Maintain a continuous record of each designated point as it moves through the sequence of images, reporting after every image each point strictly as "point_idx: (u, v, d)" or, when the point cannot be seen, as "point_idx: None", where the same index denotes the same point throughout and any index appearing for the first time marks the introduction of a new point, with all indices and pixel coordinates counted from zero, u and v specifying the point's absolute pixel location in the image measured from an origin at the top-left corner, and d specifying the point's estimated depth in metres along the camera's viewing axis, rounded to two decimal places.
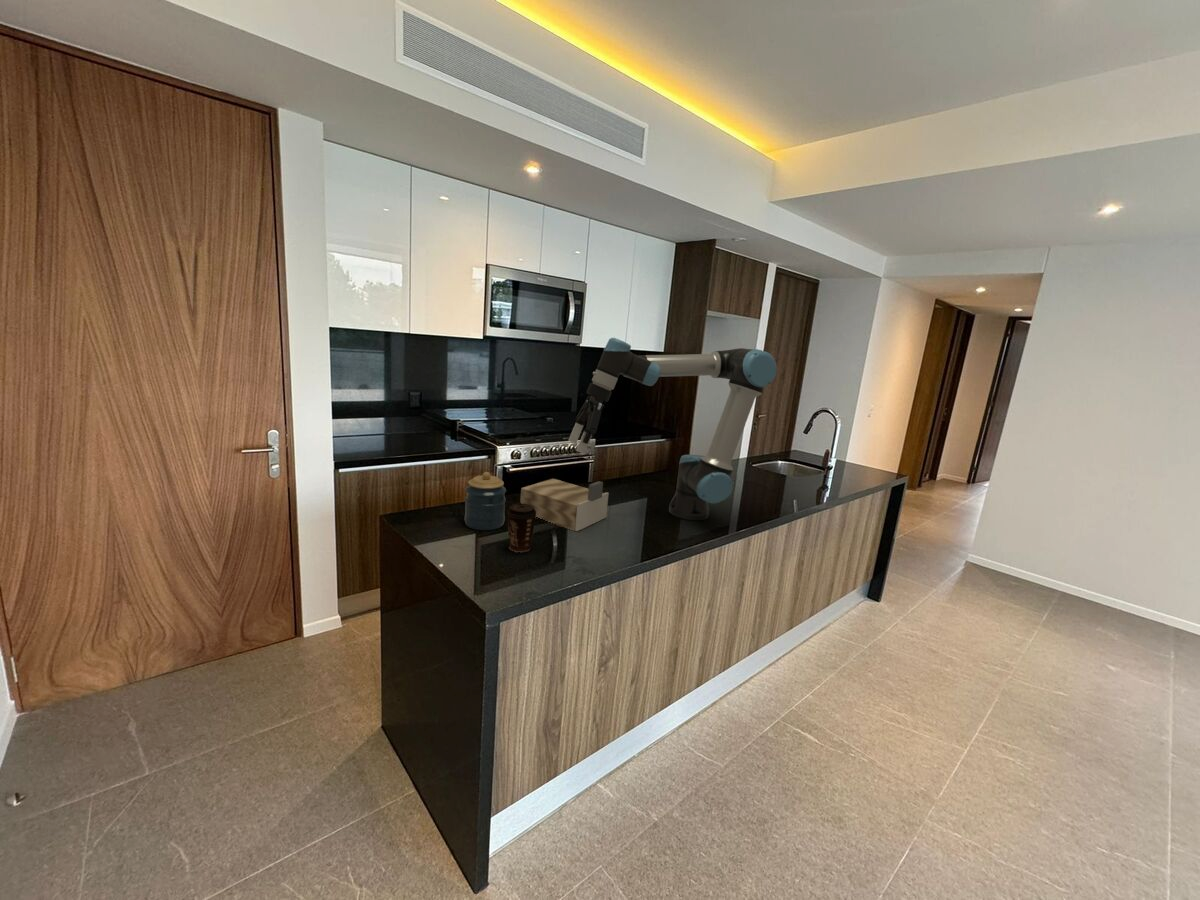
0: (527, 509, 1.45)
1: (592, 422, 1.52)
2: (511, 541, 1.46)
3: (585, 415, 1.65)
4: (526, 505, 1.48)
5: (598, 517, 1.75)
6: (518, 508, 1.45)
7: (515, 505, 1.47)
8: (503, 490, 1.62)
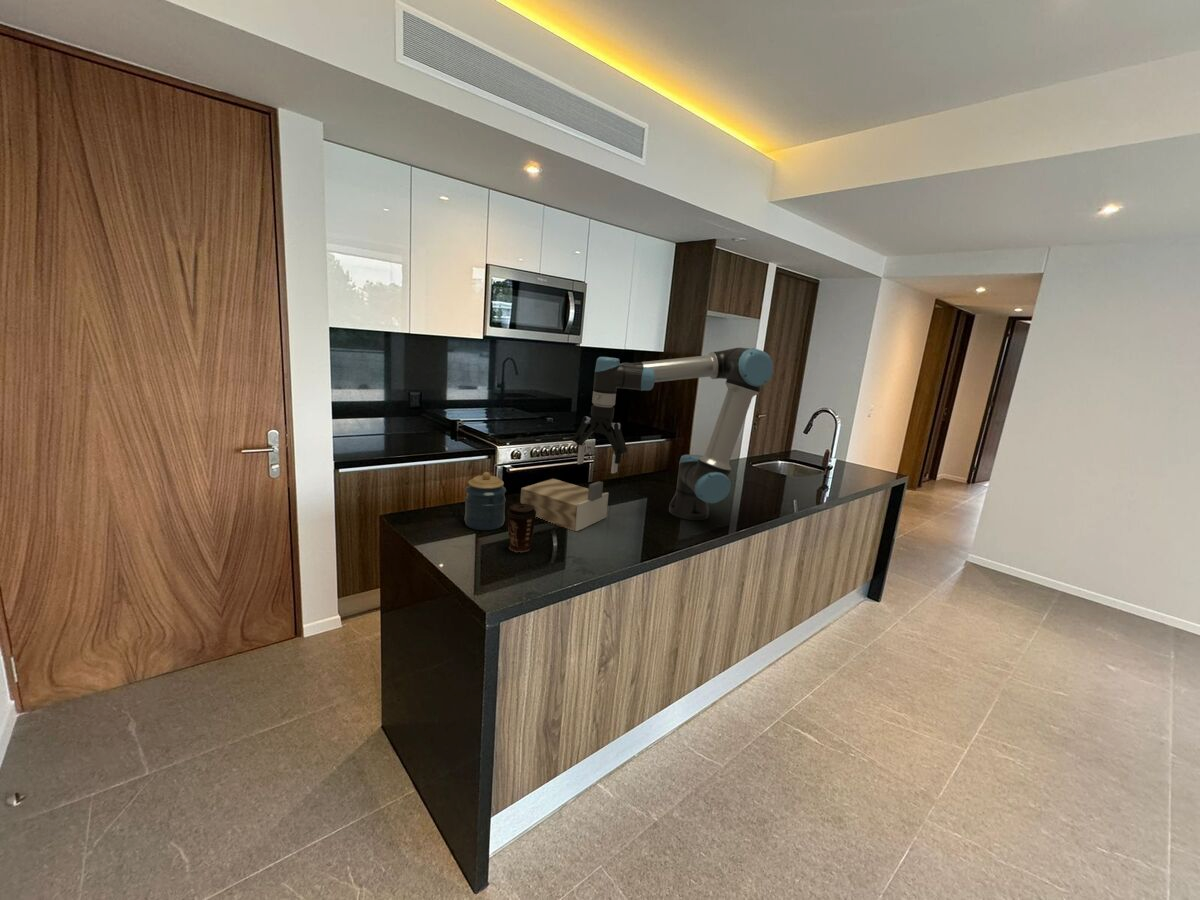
0: (527, 509, 1.45)
1: (622, 443, 1.60)
2: (511, 541, 1.46)
3: (588, 435, 1.68)
4: (526, 505, 1.48)
5: (598, 517, 1.75)
6: (518, 508, 1.45)
7: (515, 505, 1.47)
8: (503, 490, 1.62)
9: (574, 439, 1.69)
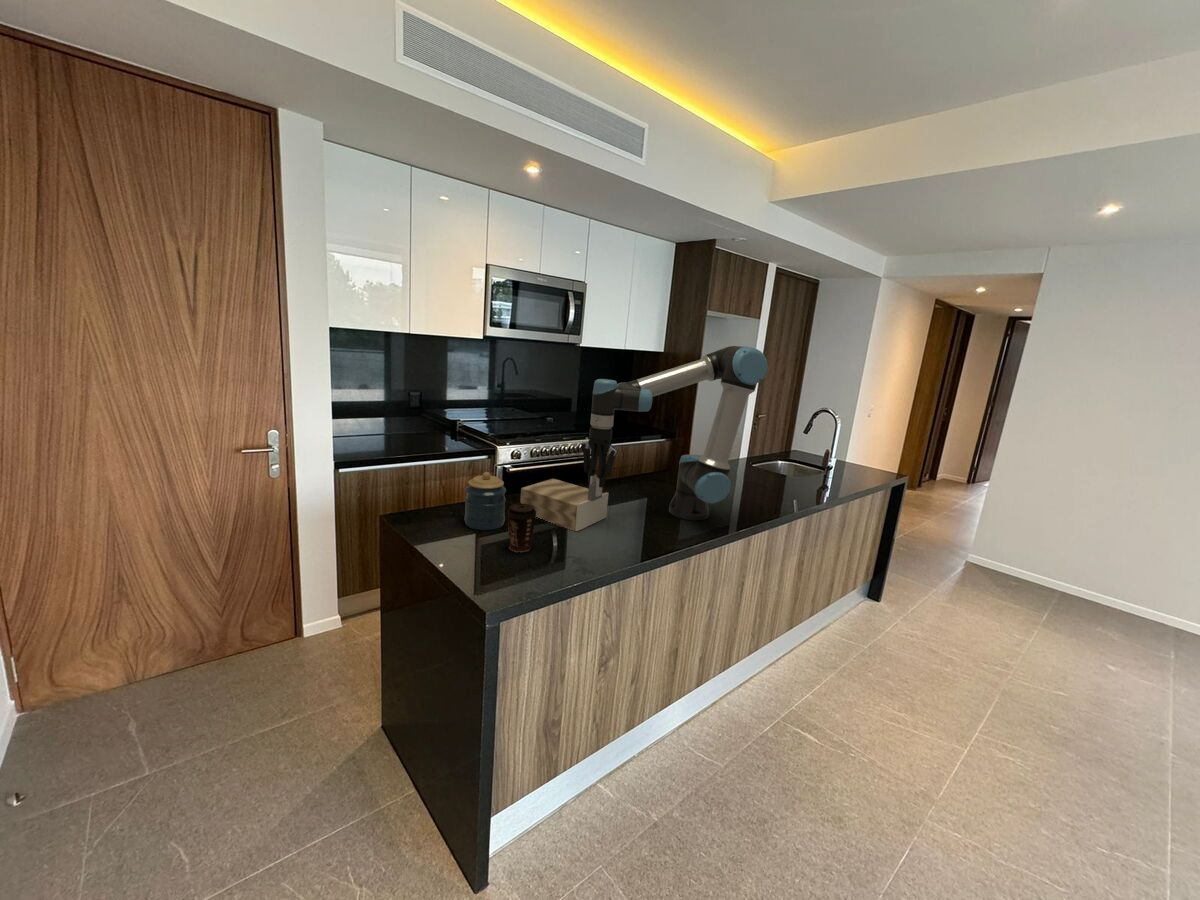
0: (527, 509, 1.45)
1: (609, 469, 1.64)
2: (511, 541, 1.46)
3: (595, 461, 1.68)
4: (526, 505, 1.48)
5: (598, 517, 1.75)
6: (518, 508, 1.45)
7: (515, 505, 1.47)
8: (503, 490, 1.62)
9: (585, 469, 1.69)
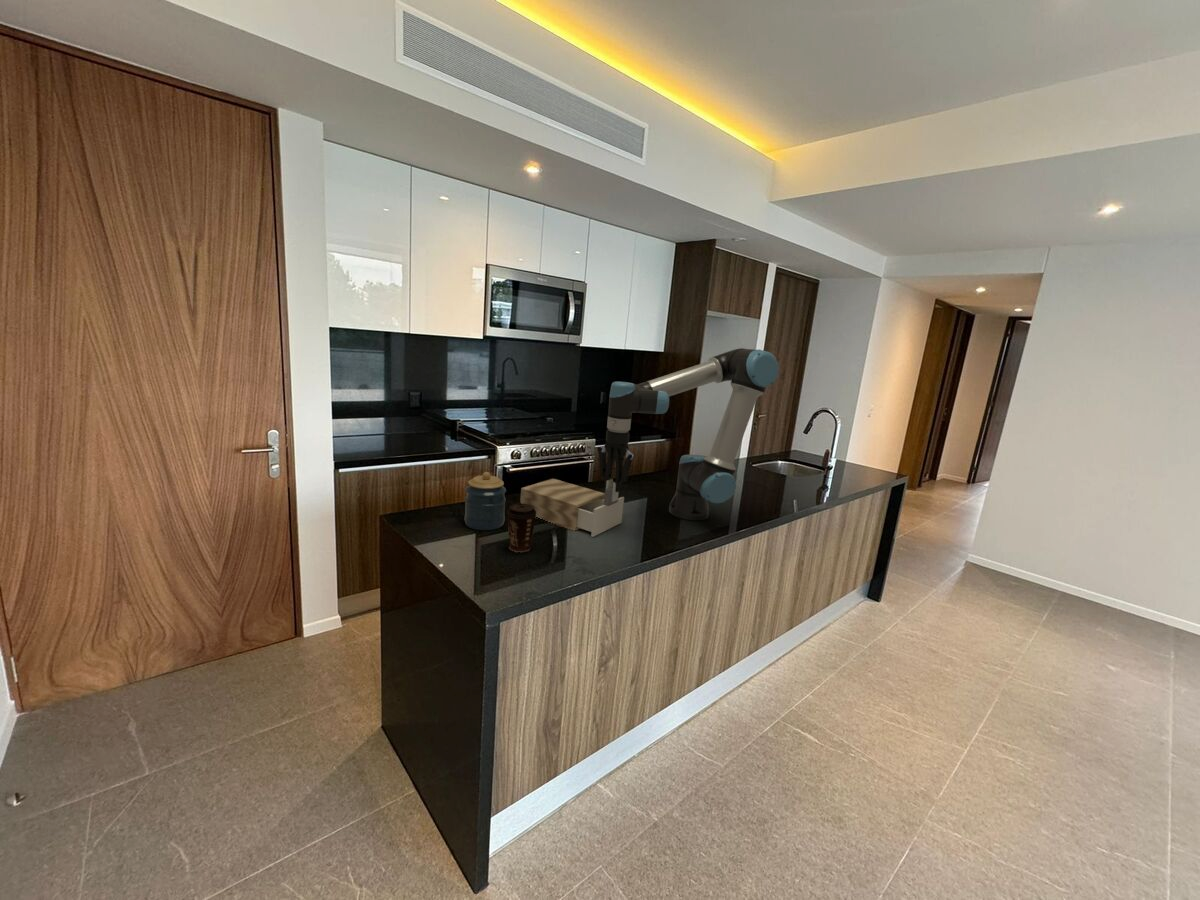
0: (527, 509, 1.45)
1: (625, 474, 1.61)
2: (511, 541, 1.46)
3: (611, 465, 1.64)
4: (526, 505, 1.48)
5: (614, 522, 1.72)
6: (518, 508, 1.45)
7: (515, 505, 1.47)
8: (503, 490, 1.62)
9: (601, 473, 1.66)
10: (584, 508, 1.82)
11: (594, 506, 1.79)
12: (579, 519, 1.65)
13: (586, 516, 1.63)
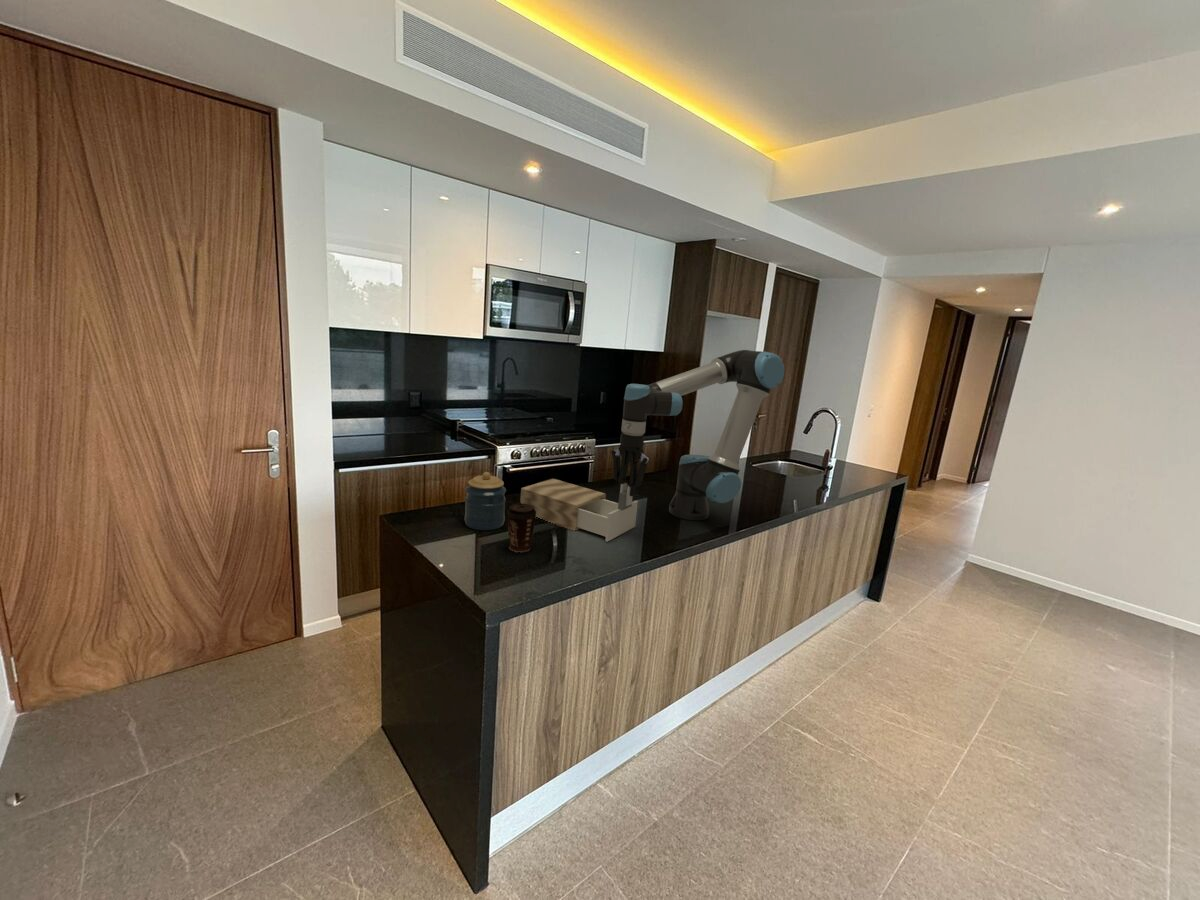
0: (527, 509, 1.45)
1: (640, 477, 1.58)
2: (511, 541, 1.46)
3: (625, 469, 1.62)
4: (526, 505, 1.48)
5: (628, 526, 1.69)
6: (518, 508, 1.45)
7: (515, 505, 1.47)
8: (503, 490, 1.62)
9: (615, 477, 1.63)
10: (596, 512, 1.79)
11: (606, 510, 1.76)
12: (593, 523, 1.62)
13: (600, 521, 1.61)
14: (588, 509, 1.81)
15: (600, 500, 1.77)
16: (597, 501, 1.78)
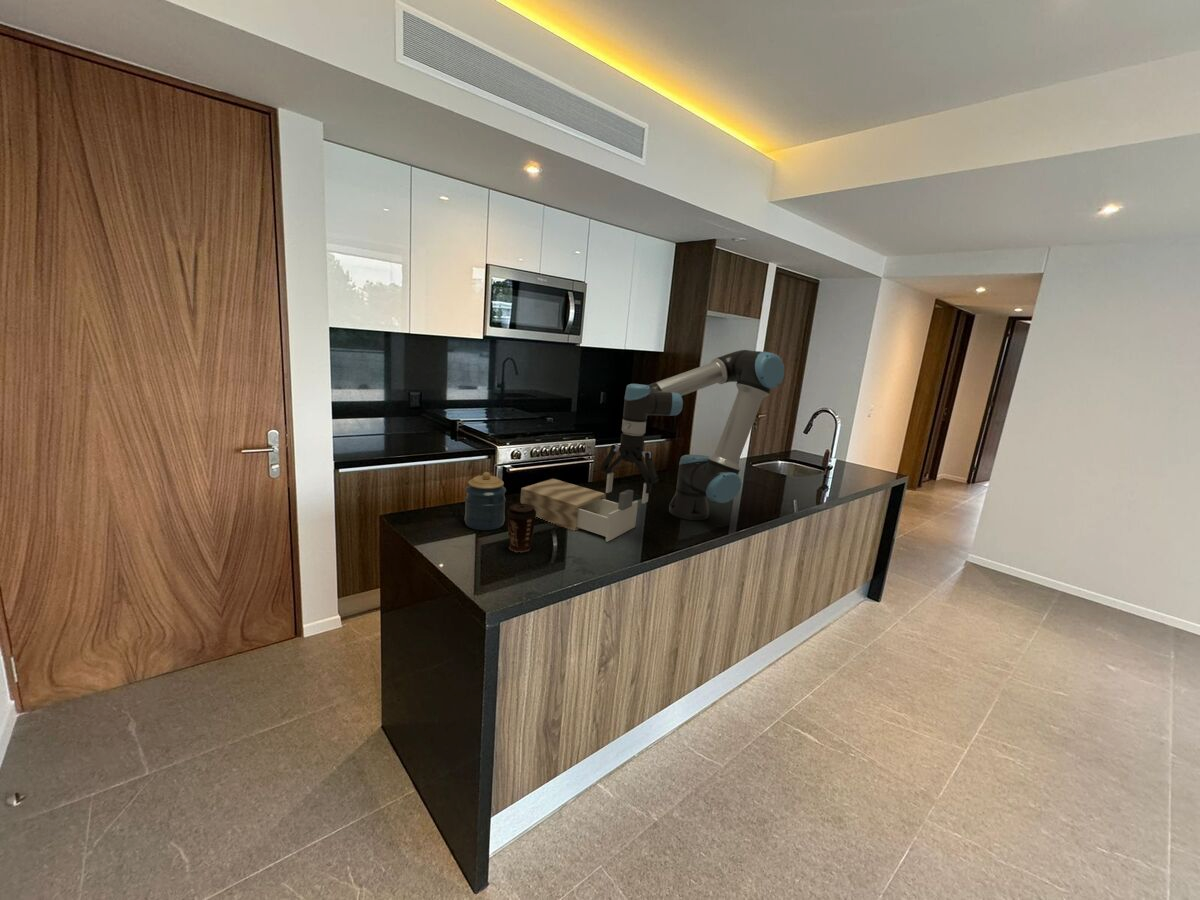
0: (527, 509, 1.45)
1: (653, 473, 1.56)
2: (511, 541, 1.46)
3: (617, 464, 1.63)
4: (526, 505, 1.48)
5: (628, 526, 1.69)
6: (518, 508, 1.45)
7: (515, 505, 1.47)
8: (503, 490, 1.62)
9: (602, 467, 1.65)
10: (597, 512, 1.79)
11: (607, 510, 1.76)
12: (593, 523, 1.62)
13: (600, 521, 1.61)
14: (588, 509, 1.81)
15: (600, 500, 1.77)
16: (597, 501, 1.78)
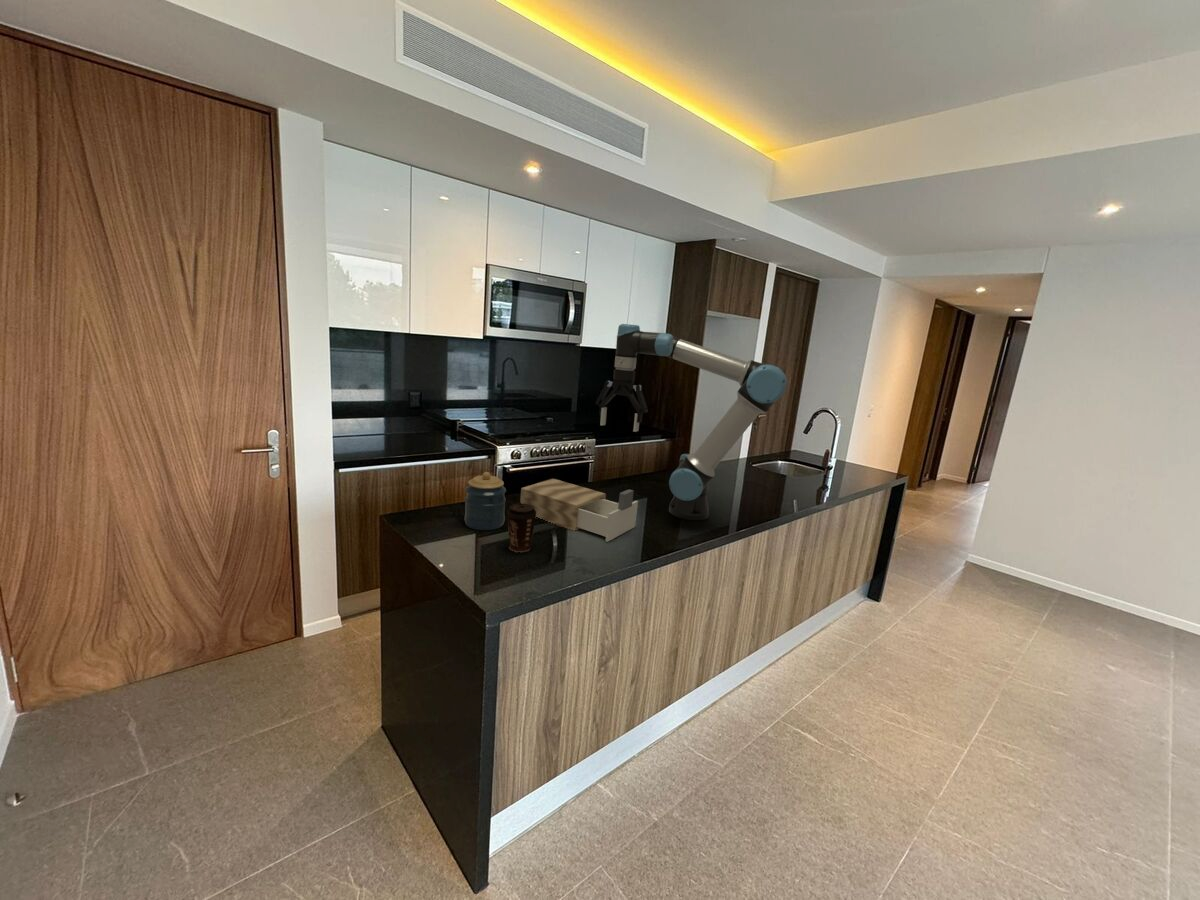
0: (527, 509, 1.45)
1: (643, 403, 1.74)
2: (511, 541, 1.46)
3: (610, 398, 1.81)
4: (526, 505, 1.48)
5: (628, 526, 1.69)
6: (518, 508, 1.45)
7: (515, 505, 1.47)
8: (503, 490, 1.62)
9: (597, 402, 1.83)
10: (597, 512, 1.79)
11: (607, 510, 1.76)
12: (593, 523, 1.62)
13: (600, 521, 1.61)
14: (588, 509, 1.81)
15: (600, 500, 1.77)
16: (597, 501, 1.78)
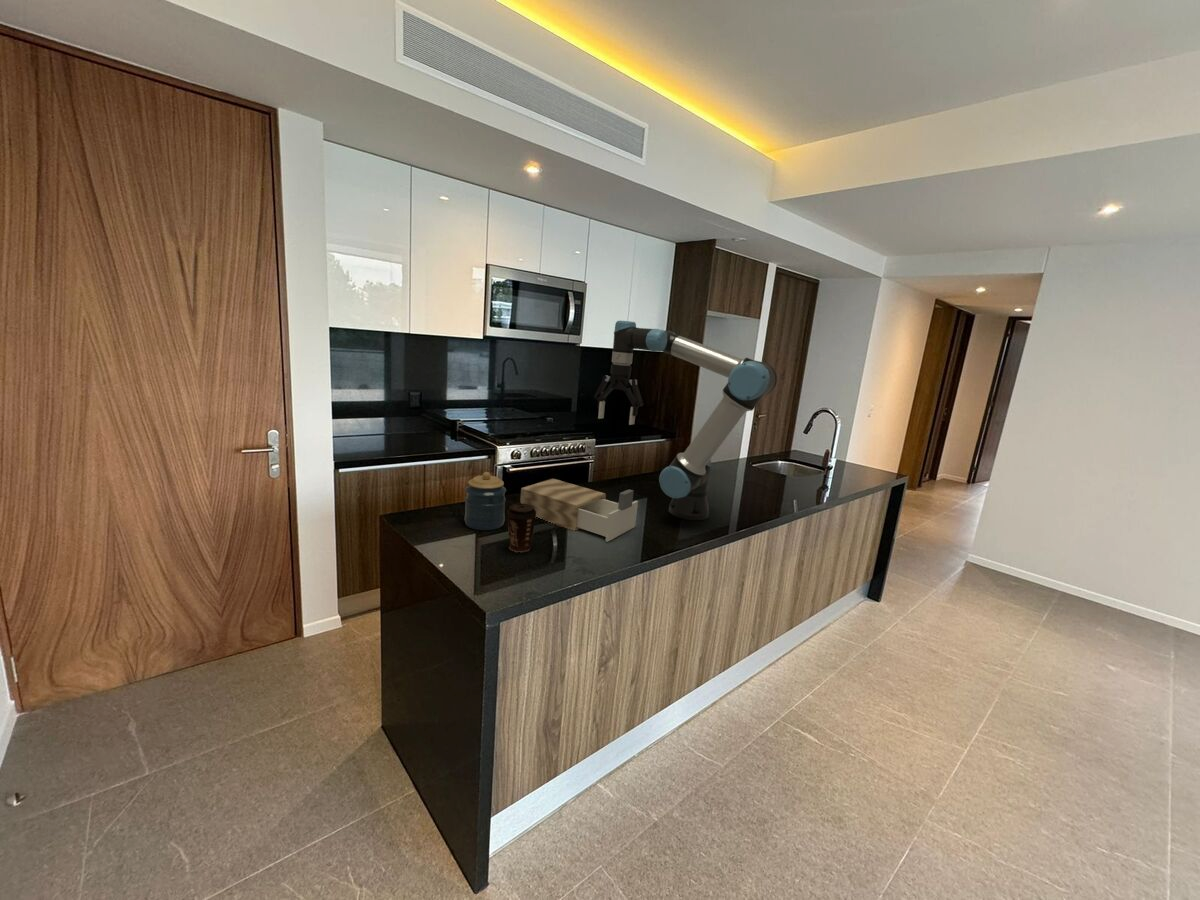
0: (527, 509, 1.45)
1: (638, 397, 1.81)
2: (511, 541, 1.46)
3: (608, 392, 1.88)
4: (526, 505, 1.48)
5: (628, 526, 1.69)
6: (518, 508, 1.45)
7: (515, 505, 1.47)
8: (503, 490, 1.62)
9: (595, 396, 1.90)
10: (597, 512, 1.79)
11: (607, 510, 1.76)
12: (593, 523, 1.62)
13: (600, 521, 1.61)
14: (588, 509, 1.81)
15: (600, 500, 1.77)
16: (597, 501, 1.78)
